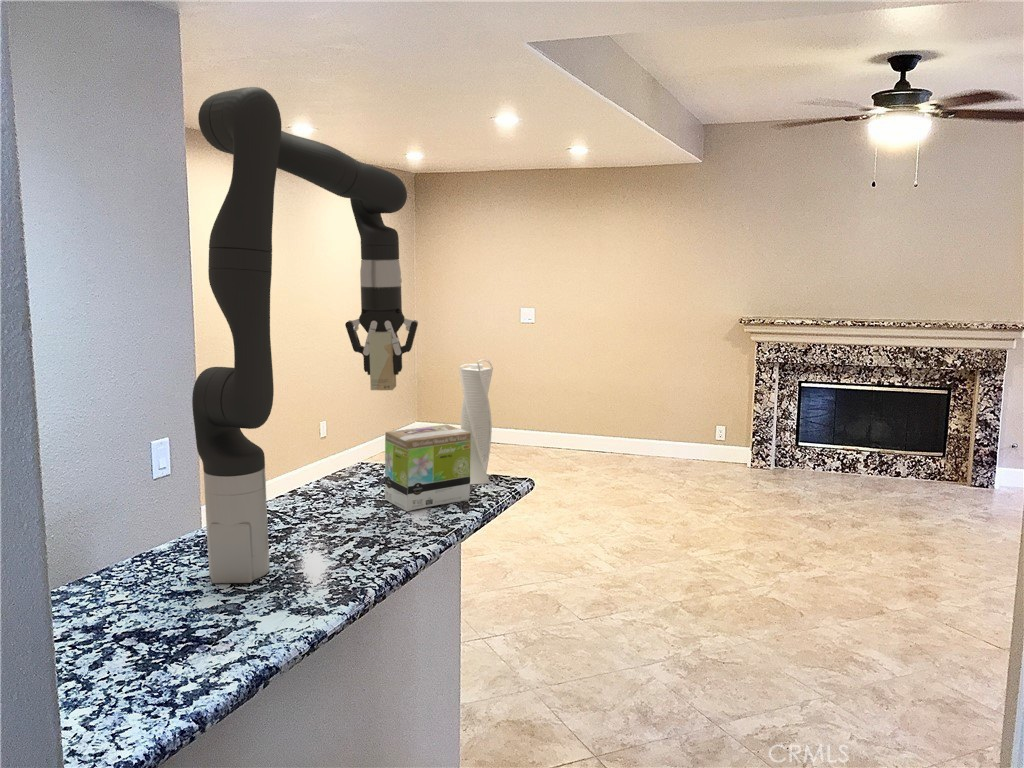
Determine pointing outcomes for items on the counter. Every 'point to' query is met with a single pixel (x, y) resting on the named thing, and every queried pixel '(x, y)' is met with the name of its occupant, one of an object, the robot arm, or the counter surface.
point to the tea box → (427, 466)
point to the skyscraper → (477, 417)
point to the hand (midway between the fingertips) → (383, 373)
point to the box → (381, 361)
